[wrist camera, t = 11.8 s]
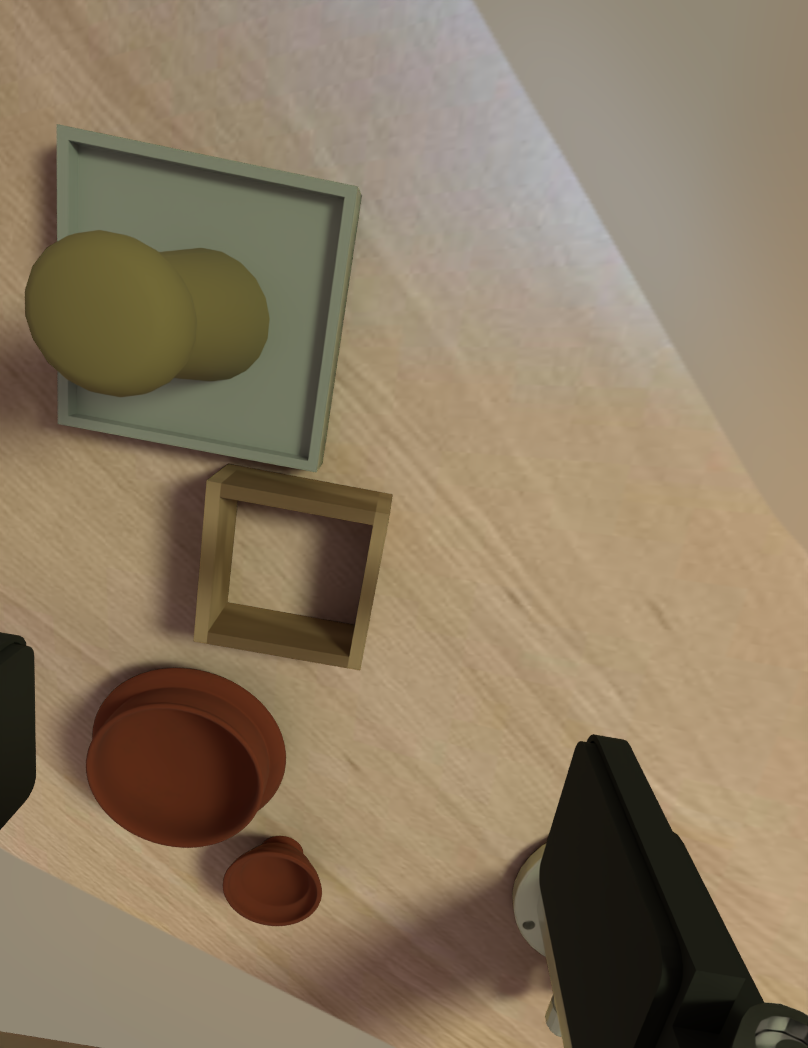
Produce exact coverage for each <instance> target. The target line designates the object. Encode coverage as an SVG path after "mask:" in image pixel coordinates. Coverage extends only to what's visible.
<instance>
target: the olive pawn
mask: <svg viewBox="0 0 808 1048" xmlns="http://www.w3.org/2000/svg"><path fill="white" fill-rule="evenodd" d="M25 316H26V319H27V322H28V325H29V328H30V332H31V335H32V338H33V340H34V341H35V343H36V344H37V346H38V347H39V349H40V351H41V352H42V354H43V355H44V357H45V358H46V360H47V362H48V363H49V364H50V365H52V366H53V367H54V368H55V369H56V370H57V371H58V372H59V373H60V374H61V375H62V376H64V377H65V378H66V379H67V380H69V381H71V382H72V383H74V384H76V385H78V386H80V387H82V388H84V389H86V390H88V391H91V392H95V393H100V394H105V395H110V396H116V397H128V396H135V395H143V394H146V393H149V392H152V391H154V390H156V389H157V388H159V387H161V386H163V385H165V384H167V383H169V382H170V381H171V380H172V379H173V378H178V379H190V380H202V381H218V380H226V379H231V378H233V377H235V376H237V375H239V374H241V373H243V372H245V371H247V370H248V369H249V367H250V366H251V365H252V364H253V363H254V362H255V361H256V360H257V359H258V358H259V357H260V355H261V352H262V350H263V348H264V346H265V344H266V341H267V339H268V330H269V321H270V318H269V312H268V307H267V302H266V297H265V295H264V294H263V292H262V290H261V288H260V286H259V284H258V282H257V280H256V278H255V277H254V276H253V275H252V274H251V273H250V272H249V271H248V270H247V269H246V268H245V266H244V265H243V264H242V263H241V262H239V261H237V260H236V259H234V258H232V257H230V256H229V255H227V254H225V253H223V252H221V251H216V250H211V249H206V248H193V249H184V250H174V251H164V252H158V251H157V250H155V249H153V248H152V247H150V246H148V245H146V244H144V243H143V242H141V241H139V240H137V239H135V238H133V237H130V236H127V235H123V234H118V233H113V232H108V231H103V230H95V231H88V232H82V233H75V234H72V235H68V236H66V237H64V238H63V239H61V240H59V241H57V242H56V243H54V244H52V245H50V246H49V247H47V248H46V249H45V251H44V252H43V253H42V255H41V256H40V257H39V258H38V260H37V261H36V262H35V264H34V265H33V266H32V269H31V273H30V276H29V279H28V282H27V286H26V289H25Z"/></svg>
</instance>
